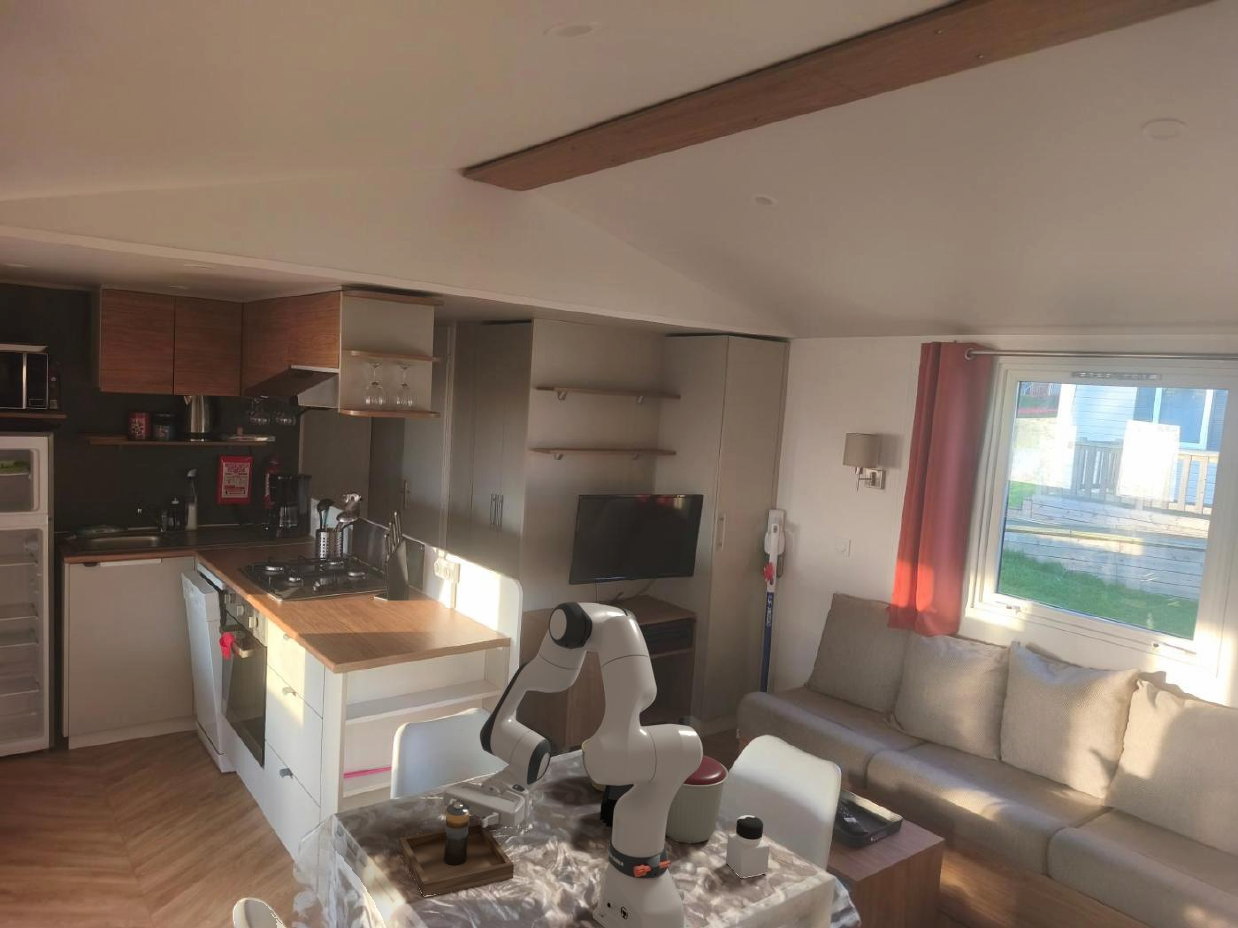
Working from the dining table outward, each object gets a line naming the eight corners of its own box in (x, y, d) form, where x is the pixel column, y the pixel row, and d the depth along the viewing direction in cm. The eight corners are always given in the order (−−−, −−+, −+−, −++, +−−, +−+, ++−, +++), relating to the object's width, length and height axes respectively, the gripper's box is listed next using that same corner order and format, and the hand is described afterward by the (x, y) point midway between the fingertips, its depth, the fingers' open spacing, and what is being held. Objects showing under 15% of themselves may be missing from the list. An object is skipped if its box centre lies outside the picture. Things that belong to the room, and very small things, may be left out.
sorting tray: (513, 877, 188) (513, 864, 188) (423, 897, 179) (424, 884, 179) (481, 833, 206) (482, 821, 206) (398, 850, 196) (399, 837, 196)
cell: (469, 862, 191) (473, 807, 190) (447, 867, 189) (450, 811, 188) (462, 851, 196) (465, 797, 195) (440, 855, 193) (443, 801, 192)
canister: (727, 854, 204) (734, 769, 202) (651, 849, 204) (658, 764, 202) (718, 817, 222) (724, 738, 221) (648, 812, 222) (654, 734, 220)
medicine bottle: (767, 875, 197) (771, 824, 196) (740, 879, 194) (744, 828, 193) (751, 858, 203) (755, 810, 202) (725, 862, 201) (729, 813, 200)
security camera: (632, 806, 225) (635, 769, 224) (626, 842, 206) (629, 802, 206) (606, 803, 225) (609, 766, 225) (598, 839, 207) (601, 799, 206)
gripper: (463, 770, 211) (427, 792, 198) (534, 792, 202) (502, 816, 189) (462, 795, 211) (426, 818, 199) (533, 818, 202) (500, 844, 190)
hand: (464, 817), depth 194 cm, fingers open, 8 cm apart
